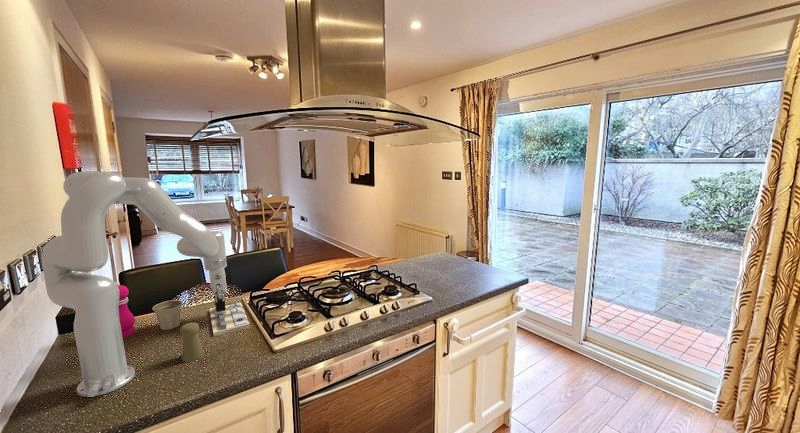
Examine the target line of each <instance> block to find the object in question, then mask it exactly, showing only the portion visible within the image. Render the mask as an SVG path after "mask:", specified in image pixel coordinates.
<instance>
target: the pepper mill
mask: <svg viewBox="0 0 800 433" xmlns="http://www.w3.org/2000/svg"><path fill="white" fill-rule="evenodd" d="M114 282H115V283H116V284H117V286H118V288H119V319H120V325H121V331H122V337H123V339H124V338H127V337H130V336H132V335H134V334H135V333H136V327H135V326H134V325H135V324H136V318H135V316H134V314H133V313H132V312H131V311H130V309H129V307H128V302H129V298H128V296H129V288H128V287H127V286H125V285H122V284H120V283H121V282H118V281H114Z"/></svg>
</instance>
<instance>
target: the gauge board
mask: <svg viewBox="0 0 800 433" xmlns="http://www.w3.org/2000/svg"><path fill="white" fill-rule="evenodd" d="M234 306H237V307H238V311H236V309H231V310H227V311H226V316H225V315H224V313H222V314H218V318H216V312H215V310H216V305H215V304H214V307H211V308H209V315H210V321H211V328H212V334H213V337H217V336H221V335H224V334H229V333H232V332H233V333H234V332H237V331H241V330H245V329H249V328H250V327H251V324H250V322H249V319H248V317H247V315H246V312H245V309H244V307H243V303H242V302H241V301H239V302H237V301H231V302H225V308H229V307H234Z"/></svg>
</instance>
